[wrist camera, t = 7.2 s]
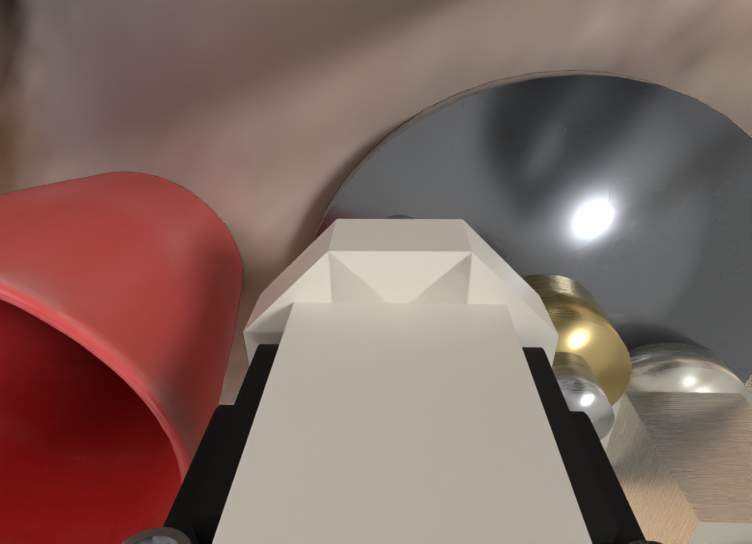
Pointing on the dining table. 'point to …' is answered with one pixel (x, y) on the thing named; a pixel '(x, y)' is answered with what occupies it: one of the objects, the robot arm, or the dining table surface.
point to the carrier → (608, 265)
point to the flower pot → (107, 352)
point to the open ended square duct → (400, 398)
